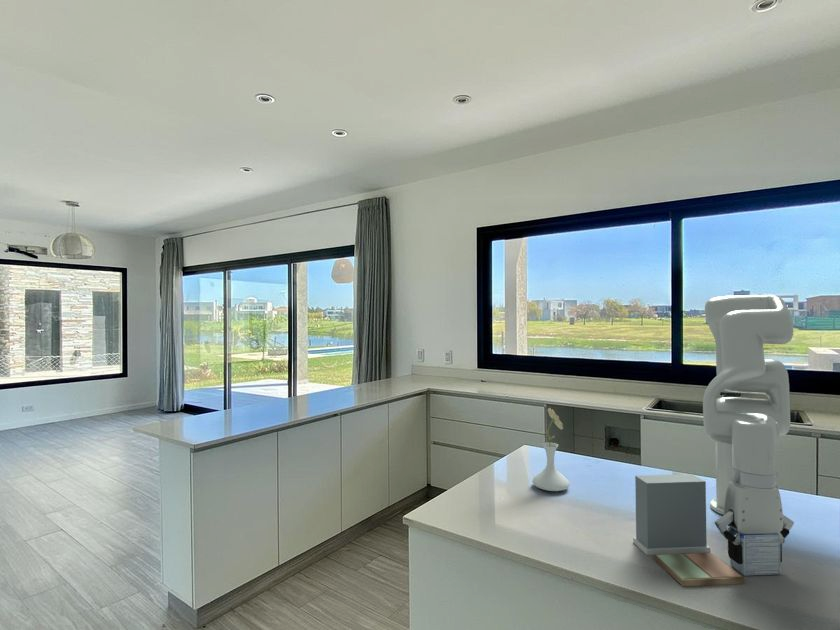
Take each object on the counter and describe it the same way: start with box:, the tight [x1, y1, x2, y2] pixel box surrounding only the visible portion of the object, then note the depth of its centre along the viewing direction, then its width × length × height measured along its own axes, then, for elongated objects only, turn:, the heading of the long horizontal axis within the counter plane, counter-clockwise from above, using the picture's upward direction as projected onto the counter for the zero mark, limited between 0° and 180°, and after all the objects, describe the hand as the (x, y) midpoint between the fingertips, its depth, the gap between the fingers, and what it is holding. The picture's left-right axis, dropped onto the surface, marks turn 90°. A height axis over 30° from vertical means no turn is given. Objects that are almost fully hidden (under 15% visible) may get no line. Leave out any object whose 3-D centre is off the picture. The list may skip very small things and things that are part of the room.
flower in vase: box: [532, 407, 570, 492], centre depth 145 cm, size 13×11×25 cm
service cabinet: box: [632, 473, 711, 556], centre depth 106 cm, size 15×6×16 cm, turn 93°
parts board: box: [653, 551, 745, 587], centre depth 96 cm, size 13×10×1 cm
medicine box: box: [729, 530, 782, 576], centre depth 96 cm, size 8×4×9 cm, turn 92°
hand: (754, 559), depth 96 cm, fingers closed on medicine box, 8 cm apart
